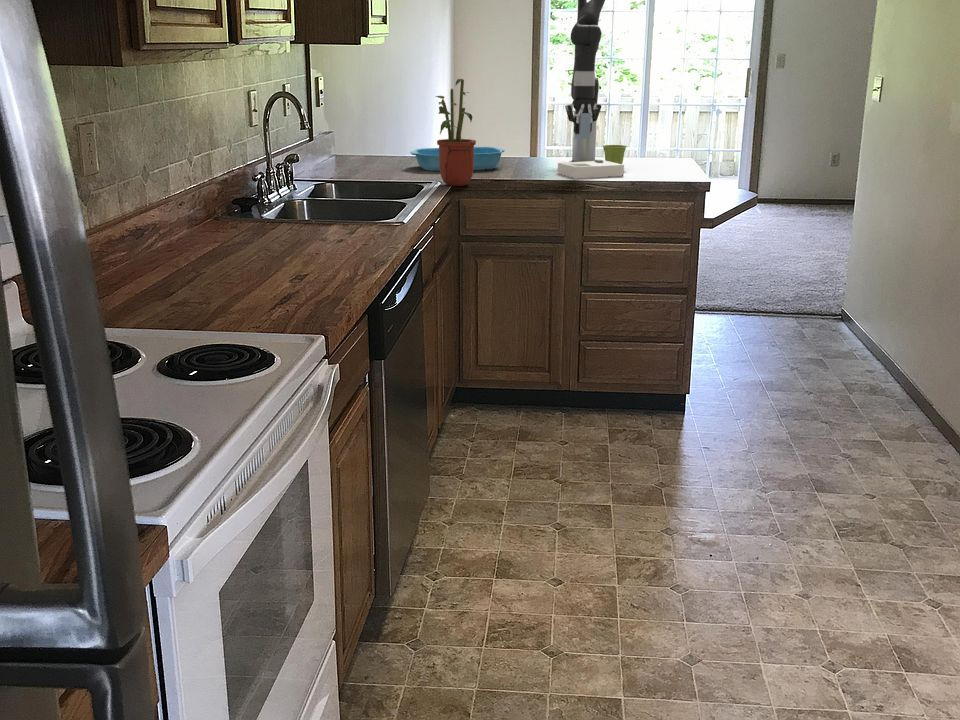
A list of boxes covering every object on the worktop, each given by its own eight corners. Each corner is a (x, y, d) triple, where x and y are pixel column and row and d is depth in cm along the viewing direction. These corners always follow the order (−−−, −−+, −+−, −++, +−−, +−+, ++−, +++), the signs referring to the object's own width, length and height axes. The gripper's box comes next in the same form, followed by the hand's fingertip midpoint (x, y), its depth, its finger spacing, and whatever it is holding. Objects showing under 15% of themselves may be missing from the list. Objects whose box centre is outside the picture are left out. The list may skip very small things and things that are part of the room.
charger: (574, 138, 350) (575, 112, 347) (584, 137, 351) (585, 112, 349) (579, 139, 346) (580, 113, 344) (589, 138, 348) (590, 113, 345)
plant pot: (597, 169, 372) (598, 146, 370) (606, 166, 380) (607, 144, 377) (620, 170, 368) (622, 147, 365) (629, 168, 376) (630, 145, 373)
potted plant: (483, 184, 332) (483, 78, 321) (457, 189, 319) (457, 79, 308) (441, 180, 341) (440, 77, 330) (415, 185, 328) (413, 78, 317)
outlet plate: (557, 173, 359) (558, 160, 358) (605, 171, 366) (605, 158, 365) (574, 178, 347) (575, 164, 346) (623, 175, 354) (624, 162, 353)
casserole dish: (415, 173, 361) (415, 153, 359) (406, 165, 381) (406, 147, 379) (510, 170, 369) (511, 151, 366) (497, 163, 389) (497, 145, 387)
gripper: (596, 83, 349) (594, 132, 354) (561, 84, 344) (560, 133, 349) (607, 84, 342) (604, 134, 348) (571, 85, 337) (569, 135, 343)
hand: (582, 133), depth 348 cm, fingers closed on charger, 4 cm apart
